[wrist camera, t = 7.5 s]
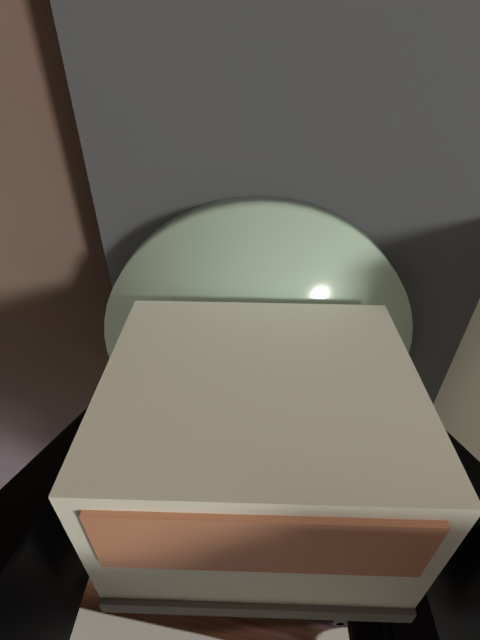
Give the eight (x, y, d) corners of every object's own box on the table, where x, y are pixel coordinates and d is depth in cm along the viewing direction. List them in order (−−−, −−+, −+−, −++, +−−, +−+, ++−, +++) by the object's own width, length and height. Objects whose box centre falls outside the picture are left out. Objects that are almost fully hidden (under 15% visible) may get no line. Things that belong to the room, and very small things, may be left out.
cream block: (355, 416, 12) (410, 624, 8) (155, 411, 12) (103, 613, 8) (384, 305, 9) (488, 518, 5) (135, 300, 10) (44, 504, 5)
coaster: (369, 431, 14) (375, 450, 13) (135, 424, 14) (130, 443, 14) (443, 198, 9) (458, 211, 8) (82, 191, 9) (69, 203, 9)
